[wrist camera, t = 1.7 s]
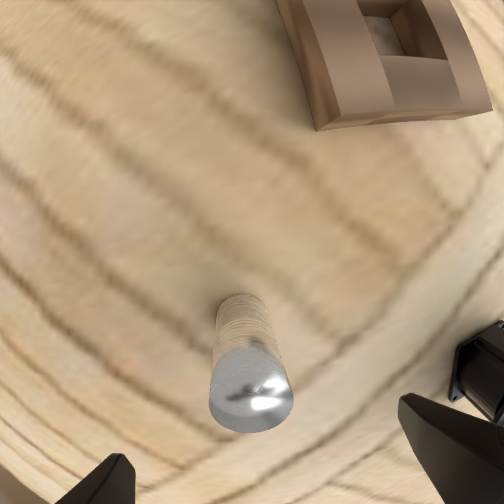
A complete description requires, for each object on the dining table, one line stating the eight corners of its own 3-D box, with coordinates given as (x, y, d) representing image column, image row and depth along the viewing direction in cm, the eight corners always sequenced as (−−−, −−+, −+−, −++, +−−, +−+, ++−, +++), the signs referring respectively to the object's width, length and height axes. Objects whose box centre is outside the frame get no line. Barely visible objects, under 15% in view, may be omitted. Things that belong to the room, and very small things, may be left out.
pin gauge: (272, 333, 18) (299, 422, 10) (224, 344, 18) (222, 438, 10) (261, 288, 17) (285, 362, 9) (210, 300, 17) (197, 381, 9)
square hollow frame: (455, 119, 16) (492, 110, 12) (316, 131, 16) (341, 115, 12) (406, -7, 14) (431, -31, 10) (269, -16, 13) (277, -52, 10)
